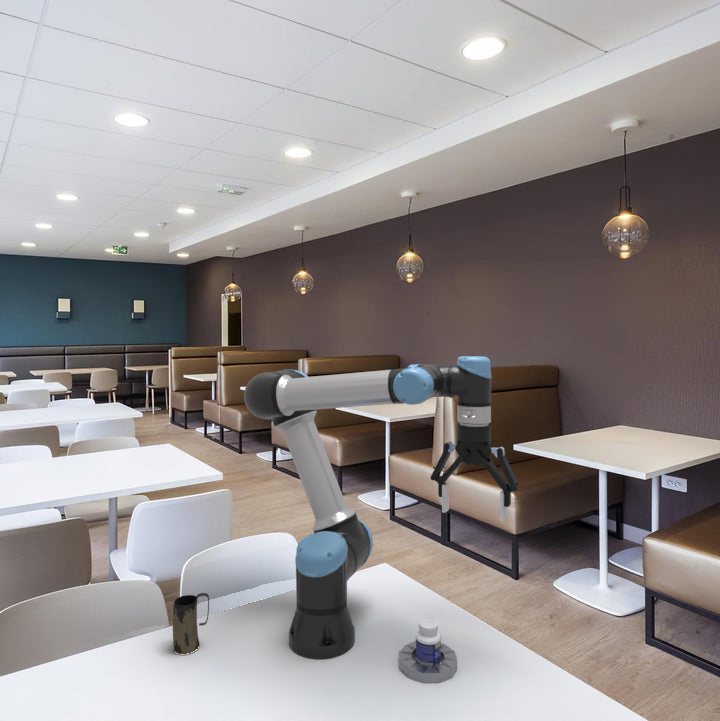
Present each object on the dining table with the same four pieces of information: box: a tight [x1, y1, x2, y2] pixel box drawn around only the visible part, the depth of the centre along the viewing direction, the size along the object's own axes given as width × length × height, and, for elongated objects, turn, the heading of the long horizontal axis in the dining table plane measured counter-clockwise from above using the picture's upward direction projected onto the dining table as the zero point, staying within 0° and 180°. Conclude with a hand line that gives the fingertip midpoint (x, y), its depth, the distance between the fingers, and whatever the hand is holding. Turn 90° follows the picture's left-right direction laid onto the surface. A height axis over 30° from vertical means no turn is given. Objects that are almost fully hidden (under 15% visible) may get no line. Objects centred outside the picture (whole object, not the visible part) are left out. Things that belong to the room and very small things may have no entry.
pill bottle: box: [415, 618, 442, 666], centre depth 117 cm, size 5×5×9 cm
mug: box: [172, 592, 210, 654], centre depth 123 cm, size 8×6×12 cm
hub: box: [398, 640, 458, 684], centre depth 117 cm, size 12×12×3 cm
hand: (473, 515), depth 126 cm, fingers open, 13 cm apart
